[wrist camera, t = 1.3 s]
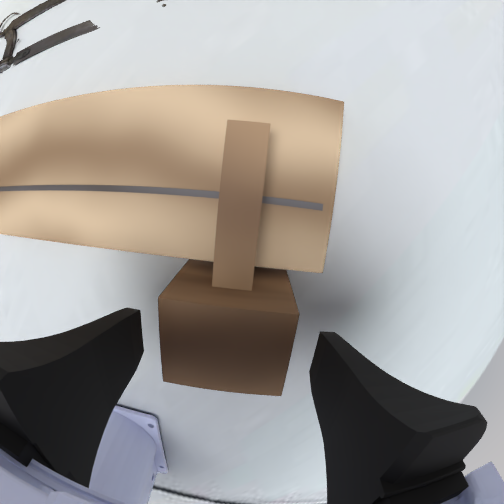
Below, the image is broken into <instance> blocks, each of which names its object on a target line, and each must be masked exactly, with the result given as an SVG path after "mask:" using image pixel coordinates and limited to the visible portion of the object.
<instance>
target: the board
mask: <svg viewBox="0 0 504 504" xmlns="http://www.w3.org/2000/svg"><path fill="white" fill-rule="evenodd" d="M343 110H344V102H343V101H338V100H334V99H329V98H324V97H319V96H313V95H307V94H301V93H295V92H288V91H281V90H273V89H264V88H253V87H240V86H223V85H166V86H148V87H136V88H126V89H117V90H109V91H102V92H96V93H90V94H84V95H79V96H73V97H69V98H64V99H59V100H55V101H51V102H47V103H43V104H39V105H36V106H32V107H29V108H25V109H22V110H19V111H16V112H13V113H10V114H7V115H4V116H1V117H0V234H4V235H11V236H18V237H25V238H32V239H39V240H46V241H53V242H60V243H68V244H75V245H83V246H90V247H98V248H105V249H113V250H121V251H129V252H137V253H145V254H153V255H161V256H170V257H178V258H187V259H195V260H204V261H212V262H214V249H215V236H216V224H217V213H218V202H219V191H220V181H221V171H222V162H223V153H224V144H225V135H226V127H227V120H240V121H251V122H261V123H270V124H271V125H270V134H269V143H268V152H267V161H266V170H265V179H264V188H263V197H262V206H261V215H260V223H259V232H258V241H257V250H256V258H255V266H258V267H267V268H276V269H286V270H296V271H305V272H315V273H323V268H324V262H325V257H326V251H327V245H328V239H329V233H330V227H331V220H332V213H333V206H334V199H335V191H336V184H337V175H338V166H339V157H340V147H341V136H342V124H343Z"/></svg>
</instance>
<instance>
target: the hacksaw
mask: <svg viewBox="0 0 504 504" xmlns="http://www.w3.org/2000/svg"><path fill="white" fill-rule="evenodd" d="M64 1H66V0H48V1H46V2H44V3H42V4H39V5H38V6H36V7H35V8H33V9H31V10H30V11H28V12H26V13H24V14H22V15H21V16H19V17H18V18H16V19H15V20H13V21H12V22H11V24H10V25H9V26H8V27H7V28H6V29H4V31H3V32H2V33H0V37H2V36H3V35H4V36H5V39H6V42H7V45H6V49H5V52H4V55H3V60H1V61H0V73H2V72H3V71H5V70H7V69H8V68H10V65H11V64H12V63H14V64H13V65H15V64H17V63H19V62H20V61H23V60H25V59H27V58H28V57H30V56H32V55H34V54H36V53H38V52H41V51H43V50H45V49H47V48H50V47H52V46H54V45H56V44H59V43H61V42H63V41H67V40H69V39H72V38H74V37H77V36H79V35H82V34H86V33H89V32H91V31H94V30H96V29H98V28H97V25H96V26H95V25H94V24H93V23H92V22H91V21H90V20H89V21H86V22H83V23H80V24H78V25H75V26H72V27H70V28H67V29H65V30H63V31H60V32H58V33H56V34H53V35H51V36H49V37H47V38H45V39H43V40H41V41H39V42H37V43H35V44H33V45H31V46H29V47H27V48H25V49H23V50H21V51H20V52H18V53H17V54H16V56H15V57H12V56H11V55H12V52H13V48H14V44H16V43H17V42H18V41H19V39H18V40H17V42H16V43H15V38H16V32H15V29H17V28H18V27H20V26H21V25H22V24H24V23H25V22H27V21H29V20H31V19H33V18H34V17H36V16H38V15H39V14H42V13H43V12H45V11H46V10H49V9H50V8H52V7H54V6H56V5H58V4H60V3H62V2H64ZM160 1H162V0H158V1H157V3H158V2H160ZM165 6H166V4H163V5H162V7H165ZM12 14H18V13H12ZM12 14H10V15H12ZM10 15H9V16H10ZM9 16H8V17H9ZM8 17H7V18H8ZM7 18H5V19H4V21H5V20H6V19H7ZM4 21H3V22H4ZM3 22H2V23H3ZM2 23H1V25H2ZM1 25H0V27H1ZM93 25H94V26H93ZM92 26H93V27H92ZM99 28H100V27H99Z"/></svg>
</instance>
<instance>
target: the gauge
mask: <svg viewBox="0 0 504 504" xmlns="http://www.w3.org/2000/svg"><path fill="white" fill-rule="evenodd" d="M270 125H271V124H270V123H261V122H251V121H240V120H227V127H226V135H225V144H224V153H223V162H222V171H221V181H220V191H219V202H218V213H217V224H216V236H215V249H214V262H210V261H201V260H193V259H189V260H188V261H187V263H186V264H185V265H184V266H183V268H182V269H181V270H180V271H179V272H178V274H177V275H176V276H175V277H174V279H173V280H172V281H171V282H170V283H169V285H168V286H167V287H166V288H165V290H164V291H163V292H162V293H161V295H160V296H159V297H158V312H159V334H160V350H161V363H162V374H163V381H164V382H169V383H175V384H180V385H186V386H191V387H198V388H204V389H211V390H219V391H227V392H236V393H246V394H257V395H272V396H281V395H282V391H283V387H284V383H285V378H286V374H287V370H288V366H289V361H290V357H291V352H292V348H293V343H294V338H295V334H296V329H297V324H298V319H299V311H298V308H297V304H296V301H295V298H294V294H293V291H292V288H291V284H290V281H289V278H288V274H287V271H286V270H283V269H274V268H264V267H255V258H256V250H257V241H258V232H259V223H260V215H261V206H262V197H263V188H264V179H265V170H266V161H267V152H268V143H269V134H270Z"/></svg>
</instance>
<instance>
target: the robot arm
mask: <svg viewBox="0 0 504 504" xmlns="http://www.w3.org/2000/svg"><path fill="white" fill-rule="evenodd" d="M143 352H144V347H143V338H142V326H141V313H140V310H137V309H131V308H124V309H121V310H119V311H116V312H114V313H111V314H109V315H107V316H104V317H102V318H100V319H97V320H95V321H93V322H90V323H88V324H85V325H83V326H80V327H77V328H75V329H72V330H69V331H66V332H63V333H60V334H56V335H52V336H48V337H44V338H38V339H32V340H26V341H15V342H0V504H148V501H149V498H150V495H151V491H152V488H153V485H154V481H155V478H156V475H157V472H160V473H164V474H166V473H167V472H168V467H167V463H166V459H165V455H164V450H163V446H162V441H161V436H160V431H159V426H158V420H157V419H156V418H155V417H154V416H152V415H149V414H145V413H141V412H137V411H133V410H130V409H126V408H123V407H120V406H116V404H117V402H118V400H119V399H120V397H121V395H122V393H123V392H124V390H125V388H126V387H127V385H128V383H129V382H130V380H131V378H132V376H133V375H134V373H135V371H136V369H137V367H138V365H139V362H140V360H141V357H142V355H143ZM309 372H310V383H311V392H312V396H313V400H314V404H315V408H316V412H317V416H318V420H319V424H320V428H321V432H322V437H323V442H324V450H325V460H326V474H327V504H504V482H503V480H502V478H501V476H500V475H499V473H498V471H497V469H496V468H495V466H494V464H493V463H492V462H489V463H487V464H485V465H483V466H482V467H480V468H478V469H476V470H474V471H472V472H470V473H469V474H468V475H467V476H465V477H464V476H463V473H462V472H461V471H463V470H464V469H465V464H464V462H463V459H464V458H465V457H466V456H467V454H468V453H469V452H470V451H471V450H472V449H473V448H474V446H475V445H476V444H477V443H478V442H479V440H480V439H481V437H482V436H483V434H484V432H485V430H486V426H487V422H486V420H485V418H484V417H483V416H482V415H481V413H480V411H479V410H478V409H477V408H476V407H474V406H470V405H465V404H460V403H455V402H451V401H447V400H444V399H441V398H437V397H434V396H432V395H429V394H426V393H424V392H422V391H419V390H417V389H415V388H413V387H411V386H409V385H407V384H405V383H403V382H401V381H399V380H398V379H396V378H394V377H392V376H391V375H389V374H388V373H386V372H385V371H383V370H382V369H380V368H379V367H377V366H376V365H375V364H373V363H372V362H371V361H369V360H368V359H367V358H366V357H364V356H363V355H362V354H361V353H359V352H358V351H357V350H356V349H355V348H353V347H352V346H351V345H350V344H349V343H348V342H346V341H345V340H344V339H343V338H342V337H340V336H339V335H338V334H336V333H335V332H320V334H319V338H318V342H317V346H316V349H315V353H314V357H313V360H312V364H311V368H310V371H309Z"/></svg>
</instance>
